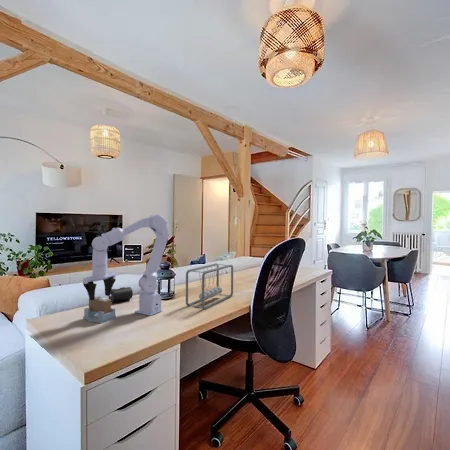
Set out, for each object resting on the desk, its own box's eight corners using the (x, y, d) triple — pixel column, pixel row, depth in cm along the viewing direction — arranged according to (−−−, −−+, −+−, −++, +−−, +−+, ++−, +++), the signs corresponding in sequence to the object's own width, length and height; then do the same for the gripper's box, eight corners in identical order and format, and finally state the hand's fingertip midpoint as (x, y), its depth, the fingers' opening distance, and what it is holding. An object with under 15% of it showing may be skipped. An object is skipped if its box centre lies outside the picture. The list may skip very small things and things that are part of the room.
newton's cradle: (217, 293, 160) (217, 262, 160) (233, 296, 155) (233, 264, 155) (185, 307, 134) (185, 270, 134) (203, 310, 129) (203, 272, 129)
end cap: (114, 304, 137) (114, 291, 137) (107, 302, 142) (107, 288, 142) (132, 300, 144) (133, 287, 144) (126, 298, 149) (126, 285, 149)
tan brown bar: (110, 312, 116) (110, 298, 116) (104, 314, 114) (104, 299, 113) (94, 308, 121) (94, 295, 121) (88, 310, 118) (88, 296, 118)
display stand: (116, 317, 118) (116, 308, 118) (100, 323, 111) (101, 313, 111) (98, 313, 123) (98, 304, 123) (83, 319, 116) (83, 308, 116)
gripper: (107, 262, 125) (107, 292, 125) (77, 266, 112) (77, 300, 112) (119, 263, 122) (119, 294, 122) (89, 268, 109) (89, 302, 109)
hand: (100, 297), depth 117 cm, fingers open, 7 cm apart
